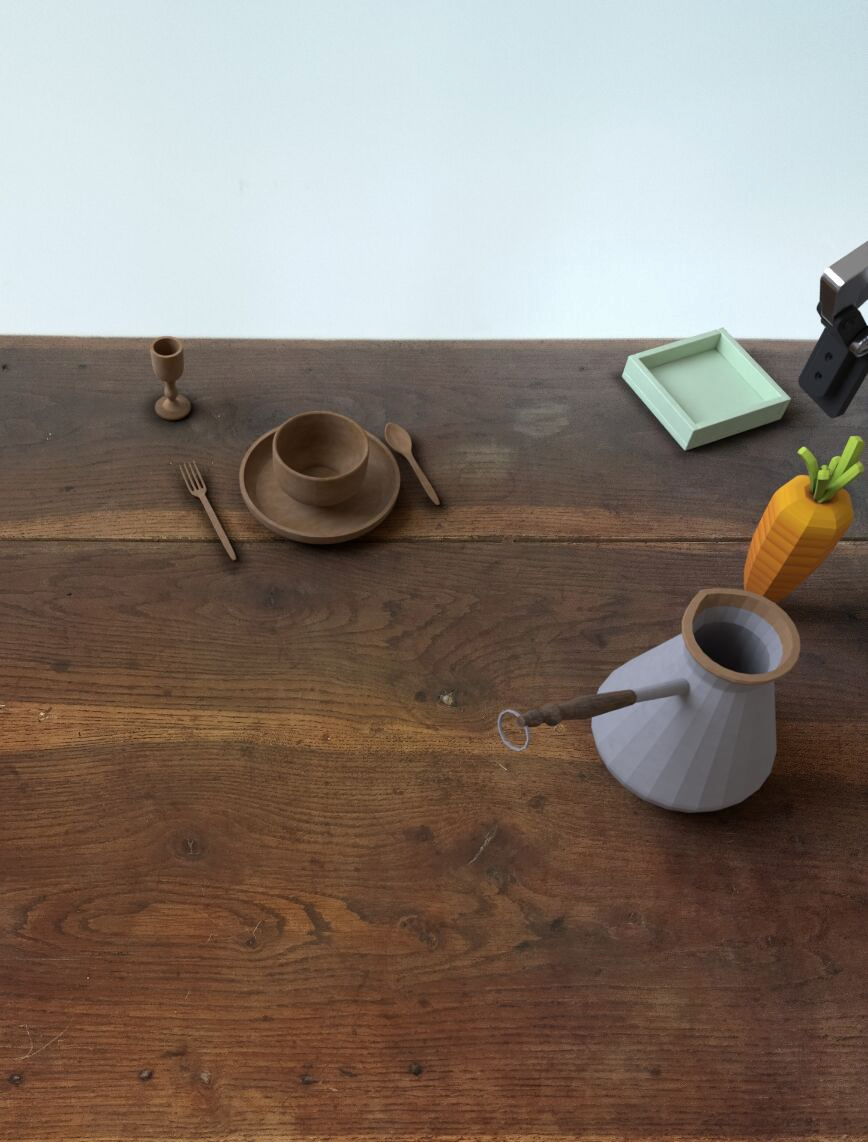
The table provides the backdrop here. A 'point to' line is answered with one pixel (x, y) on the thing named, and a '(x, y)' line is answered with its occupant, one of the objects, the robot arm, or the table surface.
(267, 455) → the place setting
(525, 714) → the coffee pot
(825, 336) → the robot arm
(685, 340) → the serving dish
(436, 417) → the table surface
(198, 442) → the table surface
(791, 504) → the carrot
